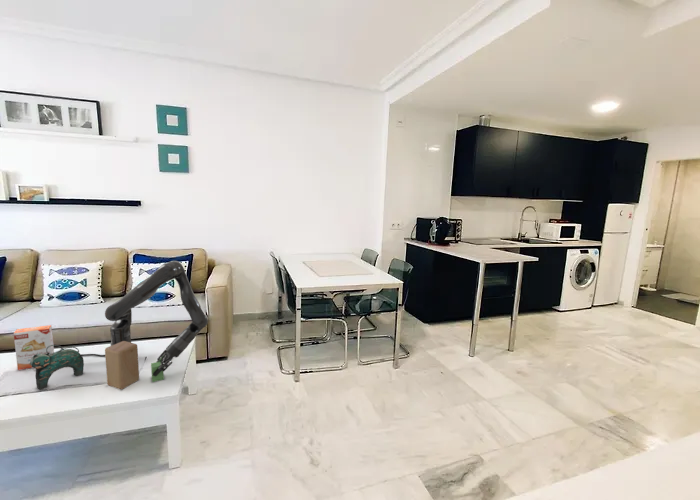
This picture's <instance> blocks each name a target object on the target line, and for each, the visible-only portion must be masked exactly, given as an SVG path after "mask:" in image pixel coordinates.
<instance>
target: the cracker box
mask: <svg viewBox="0 0 700 500" xmlns="http://www.w3.org/2000/svg"><path fill="white" fill-rule="evenodd" d="M13 340H14V341H13V342H14V349H15V358H16V368H17V371H21V370H26V369H34V368H33V367H32V366H31V364H30V360H31V358H32V357H33V356H34V355H36V354H40V353H44V354H47V352H48V353H49V355H50V354H52V353H54V352H55V346H50V345H53V344H54V336H53V327H52V324H49V325H40V326H32V327H23V328H17V329H16V330H14V332H13ZM48 346H50V347H48ZM47 347H48V349H47ZM46 349H47V352H46Z"/></svg>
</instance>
